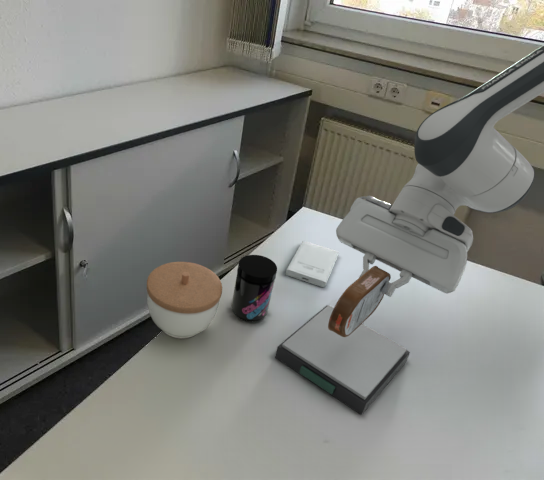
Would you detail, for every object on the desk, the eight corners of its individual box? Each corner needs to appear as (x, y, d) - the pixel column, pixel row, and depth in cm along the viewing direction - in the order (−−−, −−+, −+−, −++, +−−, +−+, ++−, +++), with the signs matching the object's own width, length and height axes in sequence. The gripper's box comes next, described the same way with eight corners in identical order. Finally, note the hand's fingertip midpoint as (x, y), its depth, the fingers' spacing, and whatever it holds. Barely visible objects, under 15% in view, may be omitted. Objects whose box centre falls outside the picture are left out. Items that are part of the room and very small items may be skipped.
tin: (368, 297, 92) (379, 256, 87) (385, 306, 90) (398, 263, 85) (322, 339, 82) (332, 294, 78) (341, 349, 80) (352, 304, 76)
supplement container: (231, 322, 96) (240, 276, 90) (229, 298, 102) (237, 253, 96) (269, 325, 96) (280, 279, 91) (264, 301, 102) (274, 256, 96)
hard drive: (337, 257, 117) (324, 288, 107) (300, 246, 119) (285, 274, 110) (339, 251, 116) (326, 281, 106) (302, 240, 118) (286, 268, 109)
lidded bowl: (161, 358, 87) (165, 305, 81) (133, 309, 97) (136, 259, 91) (229, 339, 92) (238, 289, 86) (196, 295, 102) (202, 246, 96)
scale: (405, 362, 92) (411, 349, 90) (360, 416, 81) (365, 402, 79) (324, 315, 100) (327, 302, 98) (273, 358, 90) (276, 345, 88)
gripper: (357, 183, 90) (314, 253, 89) (483, 235, 79) (435, 315, 78) (363, 199, 95) (322, 264, 95) (481, 249, 85) (436, 324, 84)
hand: (374, 288), depth 86 cm, fingers closed on tin, 2 cm apart
